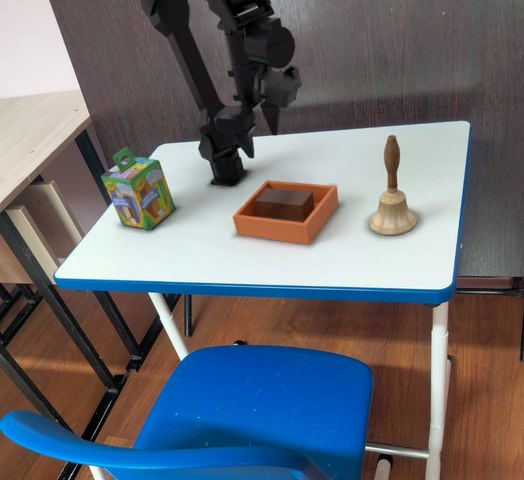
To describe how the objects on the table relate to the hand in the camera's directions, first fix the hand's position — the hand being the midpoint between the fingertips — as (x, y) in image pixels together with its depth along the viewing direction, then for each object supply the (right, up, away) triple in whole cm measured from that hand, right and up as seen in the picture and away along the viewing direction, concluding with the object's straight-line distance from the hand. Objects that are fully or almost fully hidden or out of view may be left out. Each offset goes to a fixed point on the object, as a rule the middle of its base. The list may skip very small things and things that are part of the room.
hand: (263, 146), depth 101 cm
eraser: (+5, -13, +1) cm, 14 cm away
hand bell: (+23, -16, -6) cm, 29 cm away
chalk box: (-25, -10, +14) cm, 30 cm away
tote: (+5, -14, +2) cm, 15 cm away
